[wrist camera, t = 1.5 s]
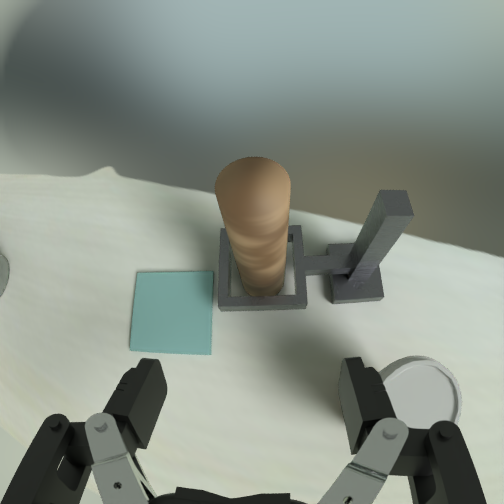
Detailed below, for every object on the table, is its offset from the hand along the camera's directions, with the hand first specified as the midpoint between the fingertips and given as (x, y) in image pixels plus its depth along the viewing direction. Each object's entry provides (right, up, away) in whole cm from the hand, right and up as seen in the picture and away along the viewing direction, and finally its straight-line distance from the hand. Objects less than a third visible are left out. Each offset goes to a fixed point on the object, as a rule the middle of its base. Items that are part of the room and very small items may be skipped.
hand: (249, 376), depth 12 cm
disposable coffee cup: (+14, -12, +16) cm, 24 cm away
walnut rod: (+1, +2, +24) cm, 24 cm away
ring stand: (+6, +2, +23) cm, 24 cm away
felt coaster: (-10, -2, +23) cm, 25 cm away
